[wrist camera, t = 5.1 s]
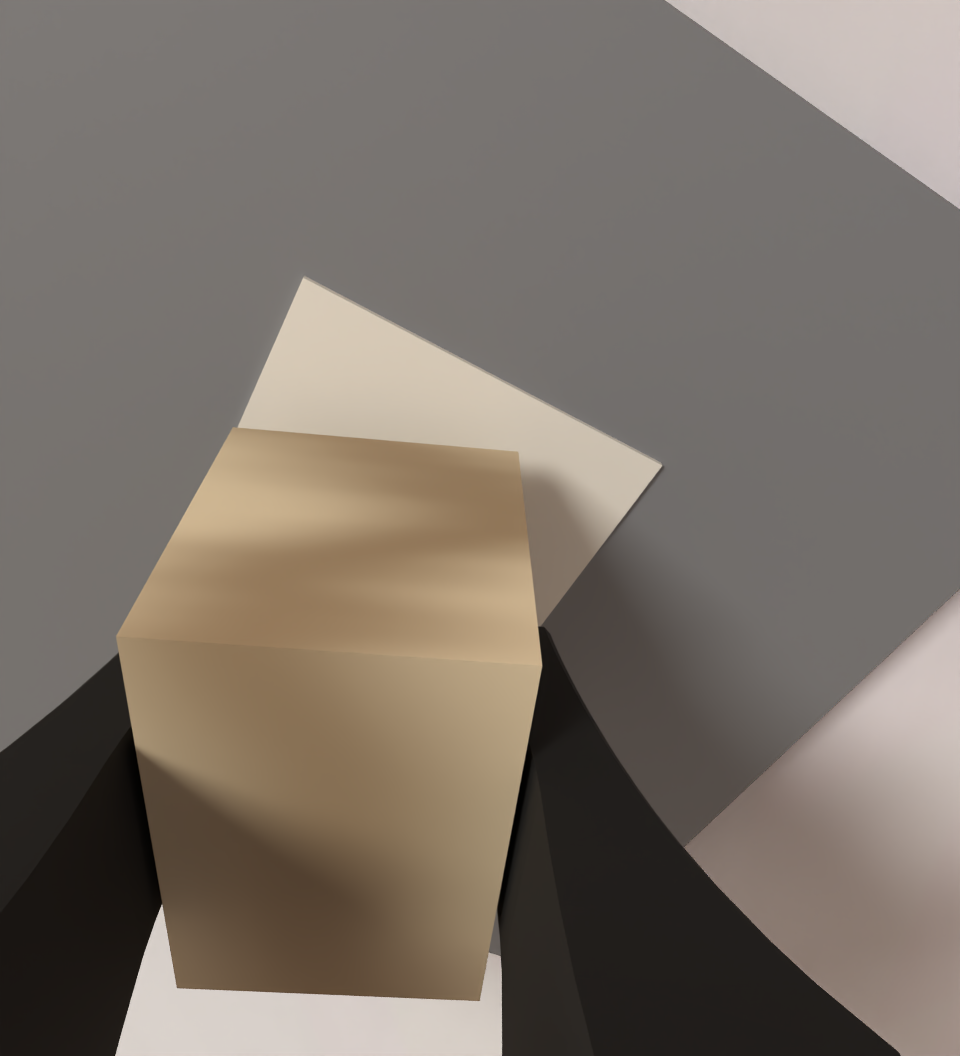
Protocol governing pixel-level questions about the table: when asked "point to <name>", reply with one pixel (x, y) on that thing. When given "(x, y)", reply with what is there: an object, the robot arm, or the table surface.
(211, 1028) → the table surface
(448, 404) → the baseplate
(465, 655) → the maple brick
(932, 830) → the table surface
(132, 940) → the robot arm
